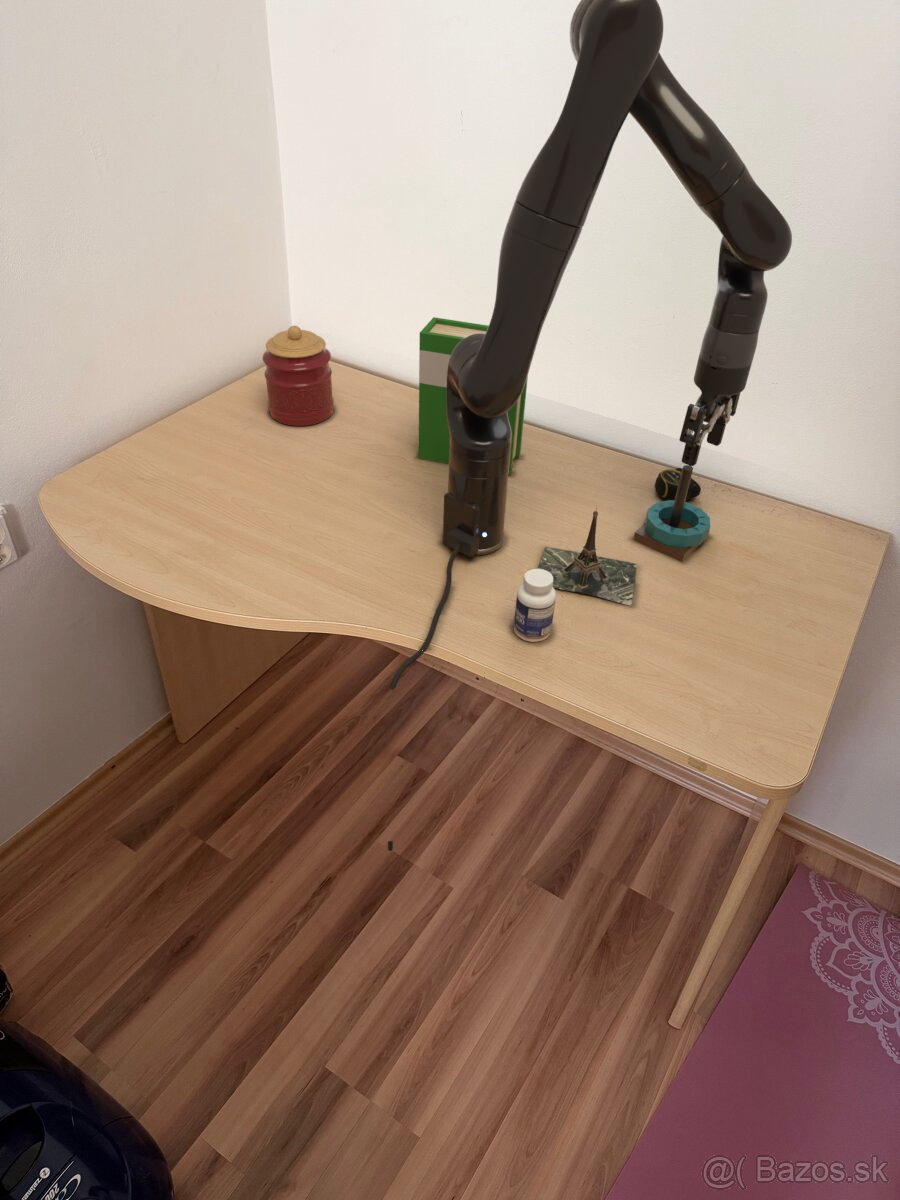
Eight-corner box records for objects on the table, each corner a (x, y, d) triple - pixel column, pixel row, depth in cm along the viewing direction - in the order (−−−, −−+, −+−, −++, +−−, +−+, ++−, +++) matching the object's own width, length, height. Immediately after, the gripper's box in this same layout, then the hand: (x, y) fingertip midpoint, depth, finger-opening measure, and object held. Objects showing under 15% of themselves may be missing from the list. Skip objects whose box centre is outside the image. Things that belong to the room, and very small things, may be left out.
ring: (687, 555, 132) (690, 542, 131) (633, 529, 137) (636, 517, 136) (717, 529, 138) (721, 517, 137) (664, 505, 143) (667, 493, 142)
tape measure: (699, 502, 147) (704, 484, 145) (665, 508, 145) (669, 489, 143) (680, 482, 152) (684, 464, 150) (646, 487, 150) (650, 469, 148)
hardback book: (520, 456, 157) (532, 332, 142) (510, 475, 152) (521, 348, 137) (431, 439, 161) (433, 317, 146) (418, 458, 156) (419, 332, 140)
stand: (682, 561, 134) (701, 489, 125) (633, 539, 138) (648, 468, 129) (707, 537, 139) (727, 466, 130) (659, 516, 143) (675, 447, 135)
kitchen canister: (305, 434, 161) (297, 346, 150) (255, 415, 167) (244, 328, 155) (347, 408, 170) (343, 323, 159) (298, 391, 175) (291, 308, 164)
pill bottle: (510, 618, 122) (516, 565, 115) (547, 617, 122) (554, 564, 116) (516, 644, 117) (522, 590, 111) (553, 642, 118) (561, 589, 112)
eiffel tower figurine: (638, 566, 132) (654, 494, 124) (631, 605, 125) (647, 532, 116) (545, 548, 135) (554, 477, 127) (532, 586, 128) (541, 513, 119)
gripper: (723, 334, 127) (699, 429, 138) (679, 362, 119) (657, 462, 129) (770, 348, 124) (742, 445, 134) (728, 378, 115) (702, 479, 126)
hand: (701, 453), depth 132 cm, fingers open, 8 cm apart
